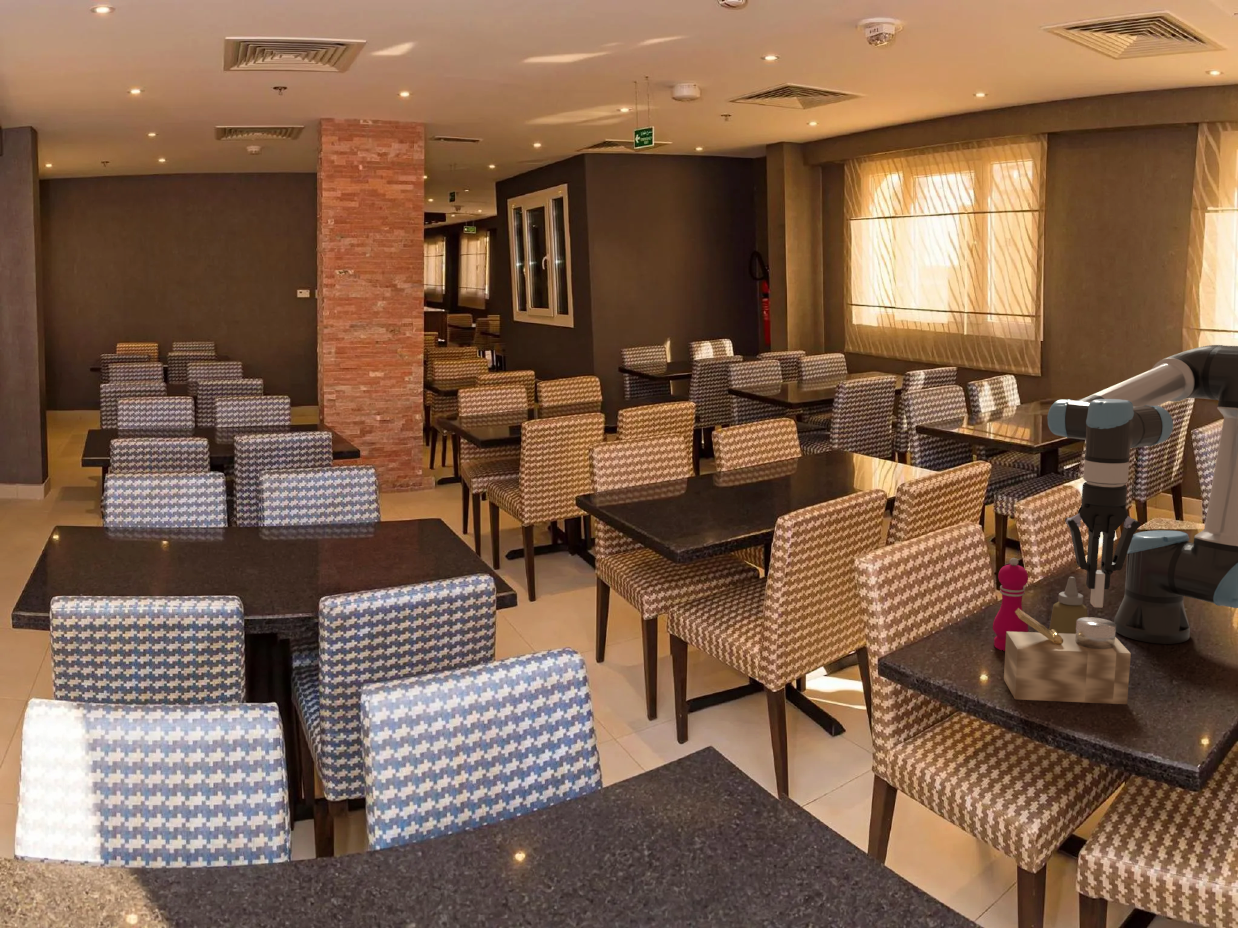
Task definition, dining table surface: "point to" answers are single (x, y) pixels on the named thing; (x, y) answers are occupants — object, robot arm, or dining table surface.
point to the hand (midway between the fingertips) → (1096, 604)
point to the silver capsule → (1095, 633)
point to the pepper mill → (1010, 602)
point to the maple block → (1065, 670)
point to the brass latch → (1040, 627)
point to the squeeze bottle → (1068, 609)
